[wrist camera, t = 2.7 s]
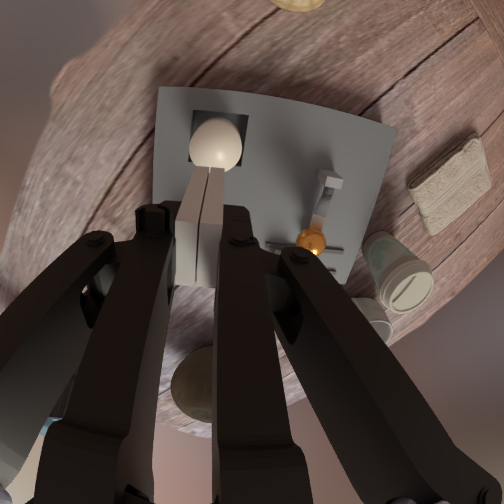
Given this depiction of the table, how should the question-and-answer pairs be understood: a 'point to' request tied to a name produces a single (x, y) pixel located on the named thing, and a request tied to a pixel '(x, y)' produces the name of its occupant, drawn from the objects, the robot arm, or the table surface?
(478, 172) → the washcloth
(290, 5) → the hand bell
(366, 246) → the coffee cup
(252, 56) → the table surface
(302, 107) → the panel
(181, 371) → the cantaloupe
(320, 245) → the lever
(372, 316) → the teacup
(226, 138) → the cream button
